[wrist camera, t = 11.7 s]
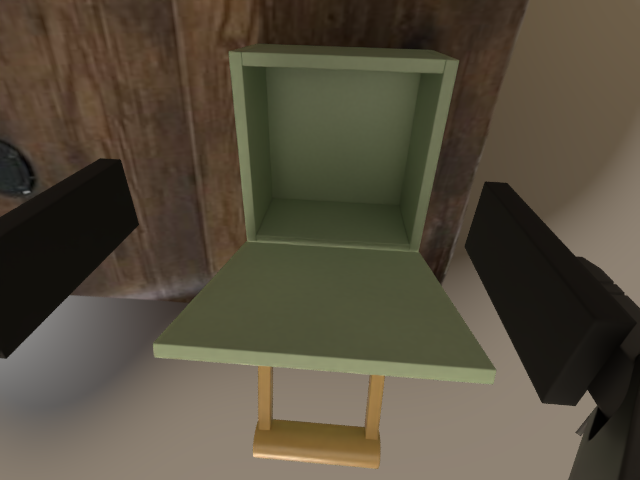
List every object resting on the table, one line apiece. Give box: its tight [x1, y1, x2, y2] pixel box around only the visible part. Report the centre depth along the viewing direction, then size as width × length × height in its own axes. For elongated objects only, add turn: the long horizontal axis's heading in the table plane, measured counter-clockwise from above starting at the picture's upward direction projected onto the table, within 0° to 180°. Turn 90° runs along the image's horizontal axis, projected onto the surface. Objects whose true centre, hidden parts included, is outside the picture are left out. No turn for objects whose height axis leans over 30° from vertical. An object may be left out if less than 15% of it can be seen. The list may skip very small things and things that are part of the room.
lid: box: [153, 242, 496, 469], centre depth 25 cm, size 17×16×8 cm
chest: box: [229, 44, 459, 252], centre depth 32 cm, size 16×16×9 cm
